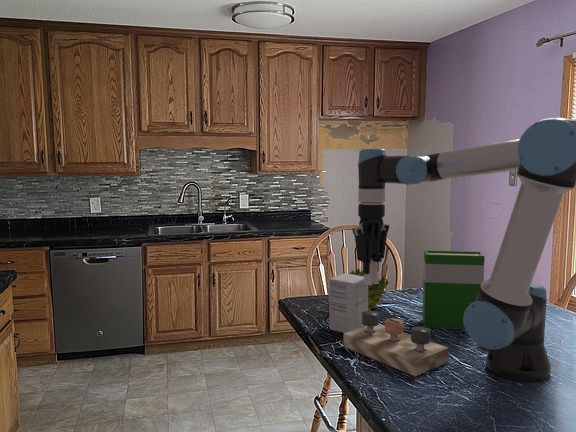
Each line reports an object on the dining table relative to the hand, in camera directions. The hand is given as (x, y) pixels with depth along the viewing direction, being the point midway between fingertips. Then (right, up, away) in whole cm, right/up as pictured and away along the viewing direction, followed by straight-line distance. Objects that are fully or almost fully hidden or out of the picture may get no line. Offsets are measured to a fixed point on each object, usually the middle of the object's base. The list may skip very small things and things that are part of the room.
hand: (370, 283), depth 149 cm
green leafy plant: (+5, -14, +37) cm, 40 cm away
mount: (+6, -19, -5) cm, 21 cm away
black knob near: (+11, -18, -12) cm, 24 cm away
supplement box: (-4, -17, +16) cm, 24 cm away
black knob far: (0, -16, +2) cm, 16 cm away
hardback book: (+29, -16, +18) cm, 38 cm away
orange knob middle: (+6, -17, -5) cm, 18 cm away
